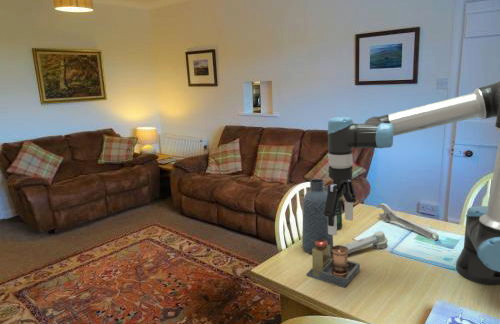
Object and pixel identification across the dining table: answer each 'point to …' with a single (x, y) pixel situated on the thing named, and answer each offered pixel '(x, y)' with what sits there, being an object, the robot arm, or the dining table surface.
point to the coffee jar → (337, 211)
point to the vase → (315, 216)
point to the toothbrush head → (367, 242)
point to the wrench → (405, 222)
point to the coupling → (339, 260)
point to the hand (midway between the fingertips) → (340, 226)
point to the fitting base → (329, 265)
